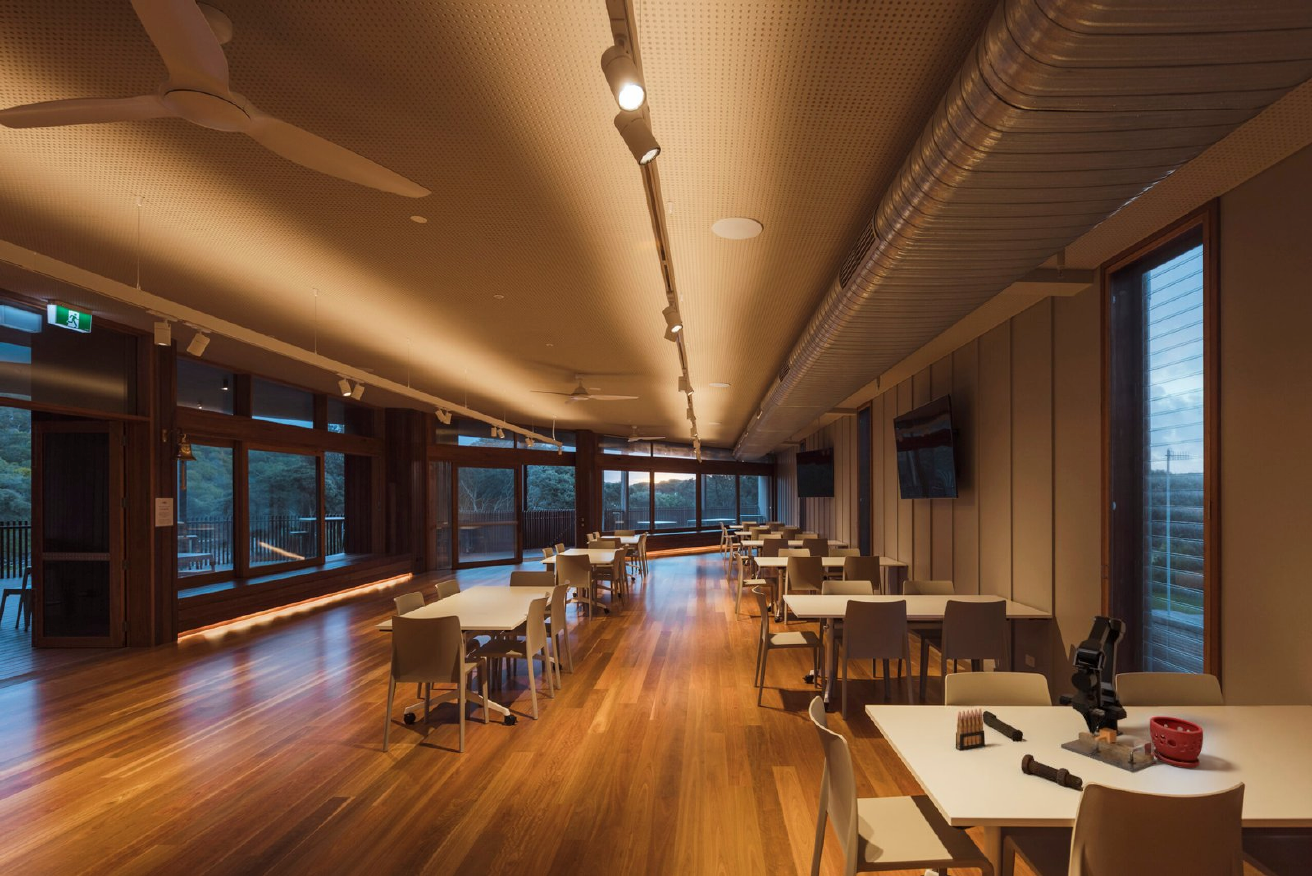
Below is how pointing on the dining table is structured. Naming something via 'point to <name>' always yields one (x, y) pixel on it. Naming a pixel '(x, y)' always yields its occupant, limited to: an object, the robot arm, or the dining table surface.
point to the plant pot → (1176, 741)
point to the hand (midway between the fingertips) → (1092, 733)
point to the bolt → (1050, 772)
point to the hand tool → (1002, 726)
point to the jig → (1114, 752)
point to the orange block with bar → (1106, 736)
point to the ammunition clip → (970, 730)
